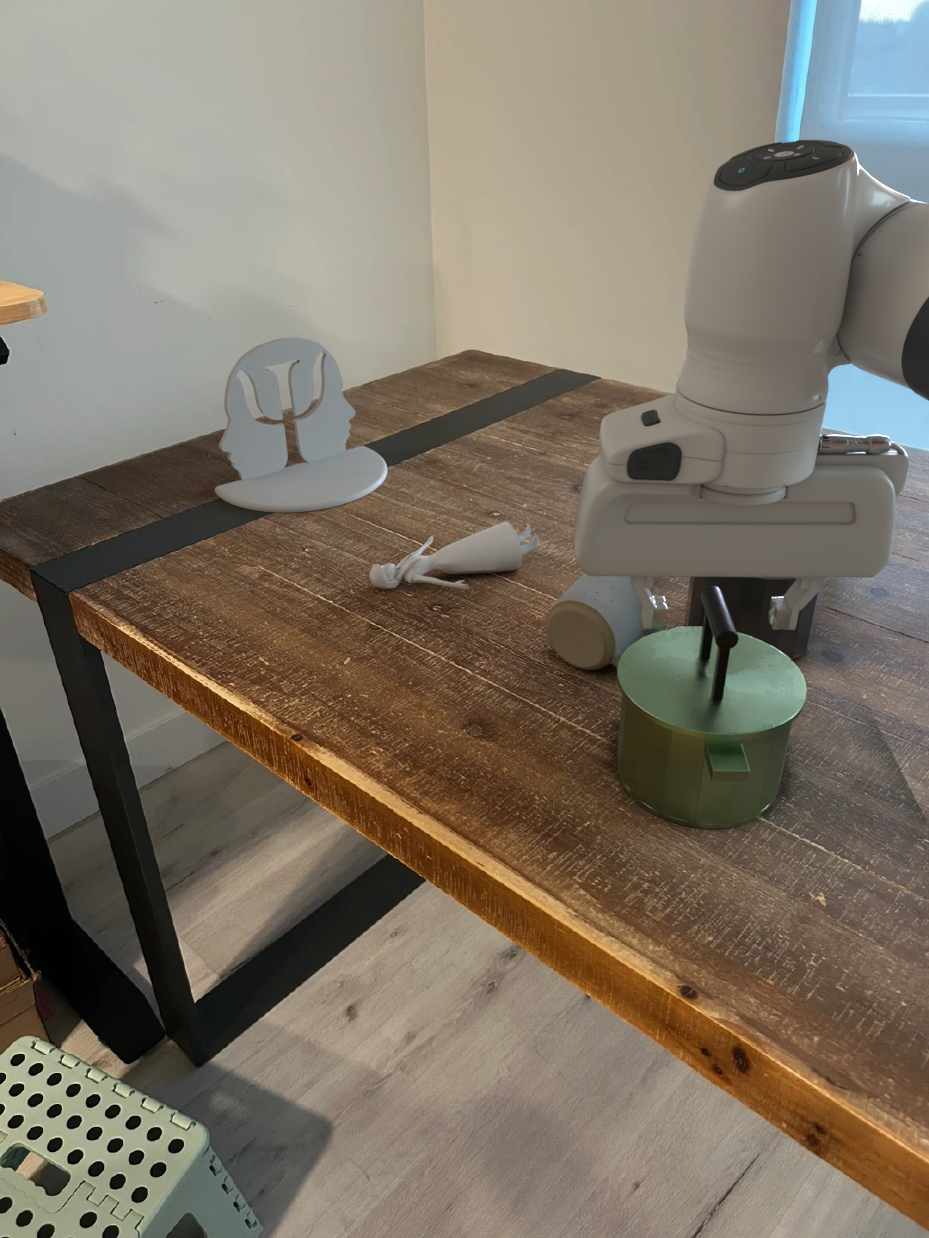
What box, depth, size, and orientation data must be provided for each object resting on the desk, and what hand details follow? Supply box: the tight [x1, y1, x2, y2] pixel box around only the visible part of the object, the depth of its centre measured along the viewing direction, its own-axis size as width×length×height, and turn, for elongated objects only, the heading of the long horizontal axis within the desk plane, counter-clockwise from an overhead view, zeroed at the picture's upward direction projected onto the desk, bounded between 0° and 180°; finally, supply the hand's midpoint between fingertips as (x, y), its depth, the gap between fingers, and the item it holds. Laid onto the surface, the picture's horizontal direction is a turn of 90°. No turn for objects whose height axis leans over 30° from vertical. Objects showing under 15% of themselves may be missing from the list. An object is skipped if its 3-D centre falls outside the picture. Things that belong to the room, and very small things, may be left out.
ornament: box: [214, 336, 388, 514], centre depth 117 cm, size 22×13×17 cm, turn 126°
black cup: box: [684, 577, 828, 663], centre depth 89 cm, size 12×12×9 cm
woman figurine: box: [369, 521, 540, 591], centre depth 101 cm, size 12×4×18 cm
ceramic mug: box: [545, 573, 662, 671], centre depth 86 cm, size 11×8×8 cm
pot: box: [616, 625, 794, 830], centre depth 72 cm, size 12×17×8 cm
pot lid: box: [616, 586, 808, 741], centre depth 69 cm, size 13×13×7 cm
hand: (717, 625), depth 68 cm, fingers open, 7 cm apart
